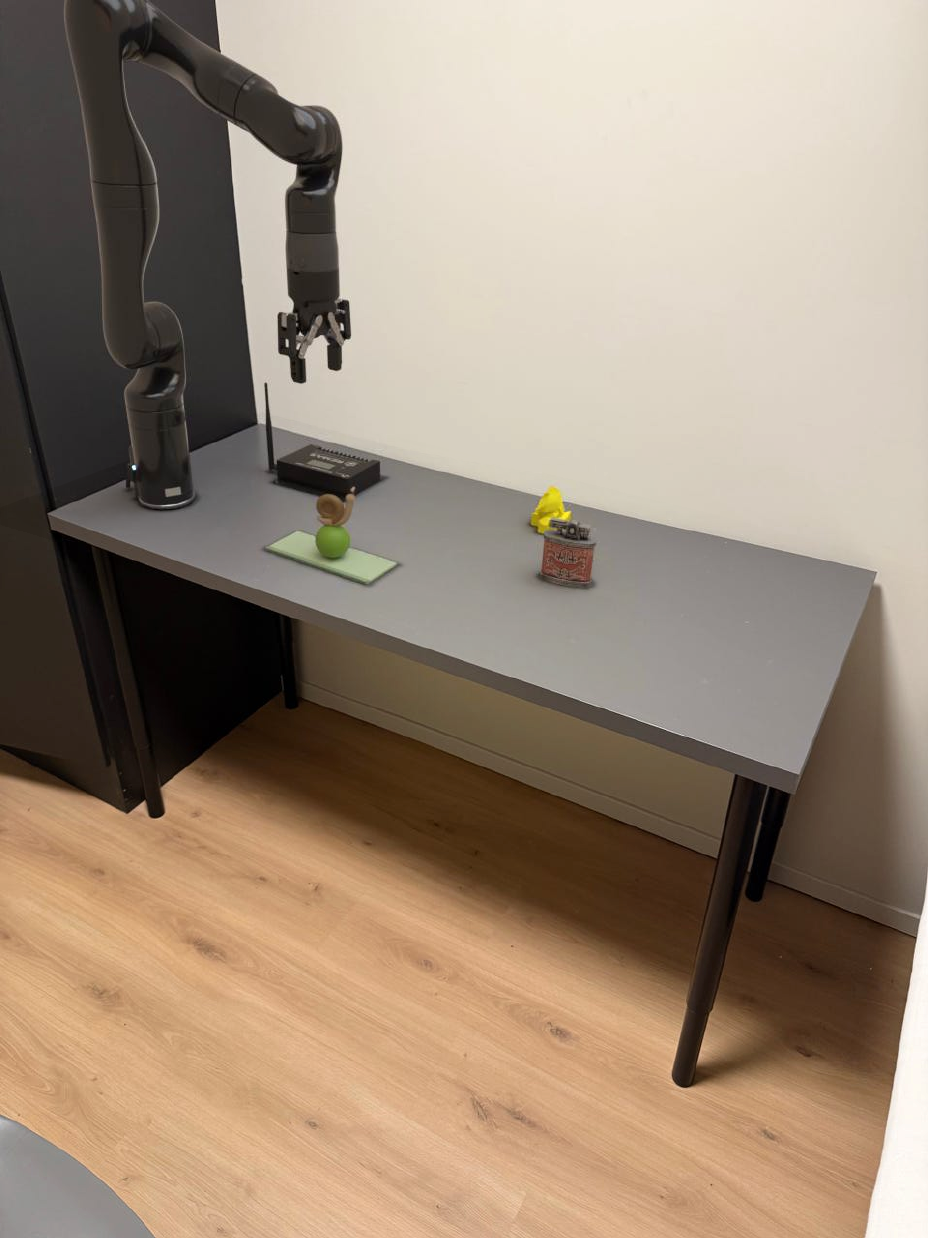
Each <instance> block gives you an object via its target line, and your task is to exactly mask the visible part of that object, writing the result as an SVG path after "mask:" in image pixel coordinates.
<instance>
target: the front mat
mask: <svg viewBox="0 0 928 1238" xmlns="http://www.w3.org/2000/svg"><path fill="white" fill-rule="evenodd" d="M315 538H316V535H312V534H310V533H306V532H304V531H300V530H296V531H294V532H293V533H291V534H288V535H286V536H285V537H283V538H281V539H279V540H277V541H275V542H274V543H272V544H270V545H267V546H265V547H264V548H265V549H264V550H265V551H266V552H270V553H272V554H276V555H278V556H282V557H284V558H287V559H289V560H292V561H293V560H294V561H296V562H299V563H302V564H305V565H307V566H311V567H314V568H317V569H318V570H323V571H325V572H328V573H331V574H334V575H337V576H339V577H343V578H346V579H348V580H352V581H355V582H358V583H361V584H363V585H365V586H367V585H369V584H370V583H372V582H373V581H376V579H378V578H380V577H381V576H382V575H384V574H385V573H387V572H388V571H390V570H392V569H393V568H395V567H396V566H398V562H395V561H392V560H389V559H386V558H384V557H380V556H378V555H374V554H372V553H371V554H370V553H368V552H365V551H363V550H358V549H355V548H353V547H350V546H349V548H348V550H347V552H346V553H345V554H343V555H342V556H340V557H337V558H329V557H326V556H324V555H323V554H321V553H320V552H319V550H318V549H317V547H316V543H315Z"/></svg>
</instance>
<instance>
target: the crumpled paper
mask: <svg viewBox="0 0 928 1238" xmlns="http://www.w3.org/2000/svg"><path fill="white" fill-rule="evenodd" d="M551 518H558V519H563V520H566V521H569V522H571V521H572V520H571V519H572V511H571V510H570V511H566V508H565V505H564V503H563V496H562V491H561V490H560V489H558V488H557V487H555V486H554V485H551V486H549V488H548V489H547V490H546V491H545V493H544V494H543V495H542V497H541V498H540V500H539V503H538V505H537V507H536V508H535V509H534V512H532V513H531V519H530V525H531V526H533V527H537V533H539V534H543V535H544V532H545V531H546V530H550V529H552V530H557V529H556V528H551V527H549V523H550V519H551ZM562 531H565V530H562Z"/></svg>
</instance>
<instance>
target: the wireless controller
mask: <svg viewBox="0 0 928 1238" xmlns="http://www.w3.org/2000/svg"><path fill="white" fill-rule="evenodd" d="M263 385H264V387H263V388H264V401H265V435H266V452H267V463H268V464H267V465H268V471H273V470H274V471H276V472H277V473H276V474H277V479H276V480H274V481H272V483H273V484H274V485H279V486H282V487H285V488H290V489H293V490H297V491H301V492H304V493H308V494H310V495H311V494H312V495H314V496H318V497H321V496H323V495H325V494H331V495H334V496H336V497H338V498H339V499H340V500H341V501H342V503H344V502H345V501H346V496H347V495H348V494H352V492H351V491H350V489H352V487H355V490H354V491H353V493H354V496H355V495H358V494H359V493H361V492H363V491H364V490H366V489H368V488H370V487H371V486H373V485H375V484H376V483H378V482H380V481H382V480H383V479H385V477H384V476H381V460H376V459H370V460H369V458H367V459H365V458H364V457H362V458H361V457H360V456H358V457H357V456H356V455H352V456H351V454H348V455H347V453H343V452H340V453H339V451H338V450H337V451H334V449H333V450H330V448H329V449H326V448H325V447H324V448H322V446H320V445H317V444H312V443H309V444H308V445H306V446H304V447H301V448H299V449H297V450H295V451H293V452H291V453H288V454H286V455H285V456H282V457H280V458H278V459H276V463H275V454H274V452H275V451H274V437H273V425H272V424H273V423H272V417H271V411H270V402H269V401H270V400H269V389H268V382H264V383H263Z"/></svg>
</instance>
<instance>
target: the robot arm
mask: <svg viewBox="0 0 928 1238" xmlns="http://www.w3.org/2000/svg"><path fill="white" fill-rule="evenodd" d="M63 21H64V29H65V35H66V41H67V45H68V50H69V55H70V60H71V64H72V68H73V72H74V77H75V82H76V86H77V91H78V96H79V102H80V107H81V114H82V122H83V128H84V135H85V141H86V148H87V156H88V165H89V178H90V186H91V194H92V195H91V196H92V203H93V210H94V216H95V221H96V229H97V239H98V249H99V251H98V252H99V260H100V261H99V262H100V272H101V296H102V297H101V304H102V305H101V308H102V309H101V310H102V311H101V312H102V330H103V336H104V337H103V338H104V341H105V344H106V347H107V350H108V353H109V355H110V356H111V357H112V359H113V360H114V361H115V363H116V364H117V365H119V366H120V367H122V368H124V369H127V370H137V371H136V373H135V375H134V376H133V378H132V379H131V380H130V382H129V383H127V385H126V386H125V388H124V392H123V395H124V403H125V410H126V416H127V423H128V429H129V436H130V442H131V443H130V444H131V445H129V447H128V454H129V463H126V469H127V475H126V478H125V488H127V489H130V488H131V482H132V483H133V487H134V493H135V499H137V500H139V503H140V505H141V506H143V507H145V508H148V509H152V510H172V509H173V510H174V509H178V508H179V509H180V508H182V507H185V506H187V505H189V504H191V503H193V501H195V499H196V494H195V490H194V481H193V472H192V463H191V455H190V447H189V438H188V437H189V436H188V429H187V421H186V413H185V405H184V392H185V388H186V383H187V376H186V360H185V359H186V358H185V344H184V336H183V331H182V330H183V329H182V328H181V324H180V321H179V319H178V317H177V316H176V313H175V312H174V311H173V309H171V308H170V306H168V305H167V304H165V303H163V302H161V301H155V300H154V301H153V300H151V301H146V302H145V297H144V276H145V270H146V267H147V263H148V260H149V256H150V254H151V251H152V248H153V245H154V242H155V240H156V239H155V238H156V235H157V232H158V228H159V223H160V201H159V188H158V178H157V172H156V171H157V170H156V167H155V164H154V161H153V158H152V156H151V153H150V152H149V150H148V147H147V145H146V142H145V141H144V139H143V137H142V135H141V133H140V130H139V128H138V127H137V125H136V122H135V120H134V118H133V116H132V113H131V110H130V108H129V104H128V99H127V94H126V93H127V92H126V86H125V77H124V76H125V75H124V63H133V62H135V63H138V64H141V65H145V66H146V67H149V68H152V69H155V70H158V71H160V72H162V73H164V74H166V75H168V76H170V77H172V78H173V79H174V80H176V81H178V82H179V83H180V84H181V85H182V86H183V87H184V88H185V89H187V90H188V91H189V93H190V94H191V95H192V96H193V97H194V98H195V99H196V100H197V101H198V102H199V103H200V104H202V105H203V106H204V107H206V108H207V109H208V110H210V111H211V112H213V113H214V114H216V116H219V117H221V118H222V119H224V120H226V121H227V122H229V123H230V124H232V125H234V126H236V127H238V128H240V129H241V130H243V131H245V132H247V133H249V134H250V135H251V136H252V137H253V138H254V139H255V140H256V141H257V142H259V143H260V144H261V145H262V146H263V147H264V148H266V149H267V150H268V151H269V152H270V153H271V154H273V155H274V156H276V157H278V158H279V159H281V160H282V161H284V162H287V163H288V164H291V165H294V166H296V169H295V179H294V181H293V182H292V184H290V185H289V186H288V187H287V188H286V190H285V194H284V209H285V210H284V211H285V213H284V214H285V229H286V230H285V233H286V234H285V235H286V236H285V263H286V265H285V267H286V284H287V296H288V298H289V299H290V300H292V303H293V306H292V311H291V312H285V311H284V312H283V311H279V312H278V313H277V317H276V318H277V352H278V354H279V355H280V356H281V355H282V356H286V357H288V359H289V369H290V371H289V372H290V373H289V374H290V379H291V381H292V382H294V383H295V384H300V385H302V384H305V383H307V366H306V364H307V363H306V358H305V356H306V353H307V350H308V348H309V347H310V346H311V345H312V344H313V342H314V340H315V339H317V338H319V337H320V336H323V337H324V339H325V341H326V342H327V345H326V355H327V356H326V357H327V358H326V359H327V360H326V362H327V369H328V370H330V371H334V372H339V371H341V370H342V367H343V366H342V365H343V346H344V345H345V342H346V340H348V341H349V340H351V339H352V327H351V325H352V324H351V307H350V301H349V300H348V299H343V298H340V296H341V289H340V288H341V287H340V282H341V281H340V249H339V248H340V247H339V241H338V233H337V206H336V195H337V189H338V185H339V180H340V174H341V167H342V161H343V151H344V147H343V146H344V144H343V134H342V133H343V132H342V130H341V126H340V123H339V121H338V118H337V117H336V115H335V114H334V113H333V111H331V110H330V109H328V108H327V107H324V106H322V105H313V104H312V105H298V104H296V103H294V102H291V101H290V100H287V99H286V98H285V97H283V96H282V95H280V94H279V92H278V90H277V88H276V86H275V85H274V84H273V83H271V81H270V80H268V79H266V78H265V77H263V76H262V75H259V74H258V73H256V72H255V71H254V70H253V71H252V70H251V69H249V68H247V67H246V66H244V65H242V64H240V63H239V62H237V61H235V60H234V59H232V58H230V57H228V56H226V55H225V54H223V53H221V52H220V51H217V50H216V49H215V48H212V47H211V46H209V45H207V44H206V43H204V42H203V41H201V40H199V38H196V37H195V36H194V35H192V34H191V33H189V32H188V31H187V30H185V29H184V28H183V27H181V26H180V25H178V24H177V23H176V22H174V21H173V20H172V19H171V18H170V17H169V16H167V15H166V14H165V13H164V12H163V11H161V10H160V9H159V8H158V7H157V6H156V5H154V4H153V3H152V2H150V0H64V5H63ZM341 325H342V326H343V329H342V328H341V327H342V326H341ZM287 342H288V346H287ZM298 345H299V346H298ZM297 347H298V349H297Z"/></svg>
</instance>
